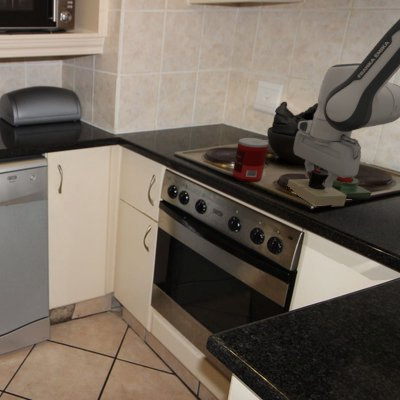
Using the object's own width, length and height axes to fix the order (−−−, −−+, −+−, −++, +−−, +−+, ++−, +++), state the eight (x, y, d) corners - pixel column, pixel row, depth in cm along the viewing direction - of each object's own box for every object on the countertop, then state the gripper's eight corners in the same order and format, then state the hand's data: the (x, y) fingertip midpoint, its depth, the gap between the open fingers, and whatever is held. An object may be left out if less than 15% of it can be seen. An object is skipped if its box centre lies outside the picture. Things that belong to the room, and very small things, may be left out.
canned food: (266, 179, 138) (274, 142, 134) (250, 184, 134) (257, 146, 130) (243, 171, 144) (249, 136, 140) (226, 176, 140) (233, 140, 135)
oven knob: (328, 189, 123) (333, 173, 121) (314, 189, 122) (318, 174, 120) (318, 183, 126) (322, 168, 125) (304, 184, 126) (308, 168, 124)
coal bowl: (347, 165, 148) (361, 105, 142) (306, 176, 140) (318, 111, 133) (289, 151, 165) (299, 96, 158) (249, 159, 156) (258, 101, 150)
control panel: (344, 206, 120) (347, 194, 119) (314, 207, 119) (317, 195, 118) (313, 188, 131) (316, 177, 130) (285, 189, 130) (288, 178, 129)
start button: (354, 182, 126) (356, 176, 125) (342, 182, 126) (344, 176, 125) (345, 177, 129) (347, 171, 129) (333, 178, 129) (334, 172, 128)
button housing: (369, 200, 124) (373, 185, 123) (341, 201, 123) (345, 186, 122) (339, 184, 134) (343, 171, 133) (313, 185, 133) (317, 172, 132)
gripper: (374, 141, 109) (358, 197, 115) (316, 120, 128) (304, 169, 133) (349, 142, 108) (334, 198, 114) (294, 120, 127) (283, 169, 133)
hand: (317, 182), depth 124 cm, fingers open, 5 cm apart
